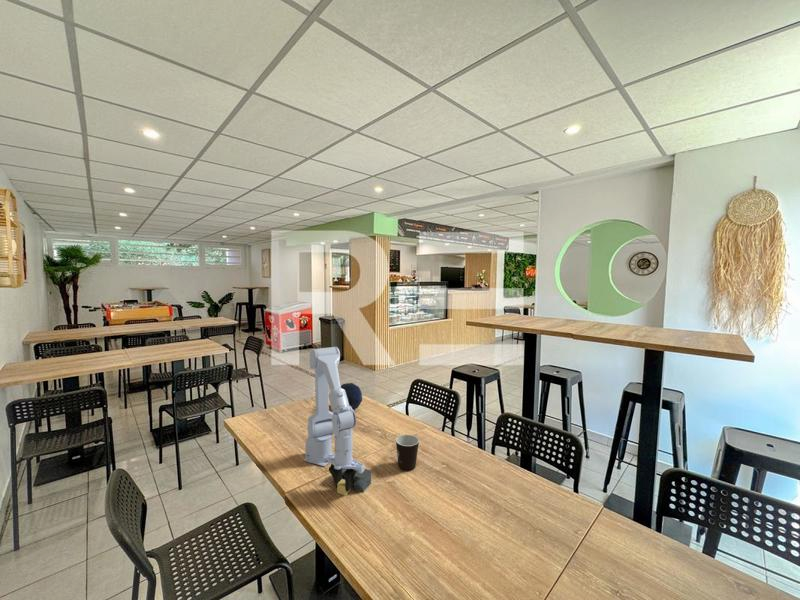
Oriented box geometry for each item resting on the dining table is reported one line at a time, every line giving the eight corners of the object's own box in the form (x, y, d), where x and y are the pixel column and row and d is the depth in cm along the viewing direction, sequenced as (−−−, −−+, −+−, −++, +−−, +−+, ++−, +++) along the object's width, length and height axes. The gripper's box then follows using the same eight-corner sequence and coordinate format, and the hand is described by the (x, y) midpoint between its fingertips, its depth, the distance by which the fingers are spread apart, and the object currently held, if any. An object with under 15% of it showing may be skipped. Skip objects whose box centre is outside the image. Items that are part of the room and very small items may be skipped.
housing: (332, 482, 110) (332, 469, 110) (341, 474, 114) (341, 462, 114) (363, 492, 105) (363, 478, 105) (371, 483, 110) (371, 470, 109)
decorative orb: (351, 391, 183) (340, 374, 175) (371, 397, 174) (360, 380, 166) (336, 413, 174) (323, 396, 166) (357, 420, 165) (344, 403, 157)
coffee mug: (416, 474, 115) (417, 447, 114) (393, 471, 117) (393, 444, 116) (421, 457, 126) (421, 432, 126) (399, 454, 128) (399, 429, 128)
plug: (355, 473, 115) (355, 465, 115) (363, 475, 114) (363, 467, 114) (337, 492, 104) (337, 484, 104) (345, 495, 103) (345, 486, 103)
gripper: (317, 448, 103) (317, 489, 104) (356, 459, 97) (356, 502, 98) (330, 438, 110) (330, 476, 110) (367, 448, 104) (367, 488, 105)
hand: (343, 487), depth 105 cm, fingers closed on plug, 3 cm apart
